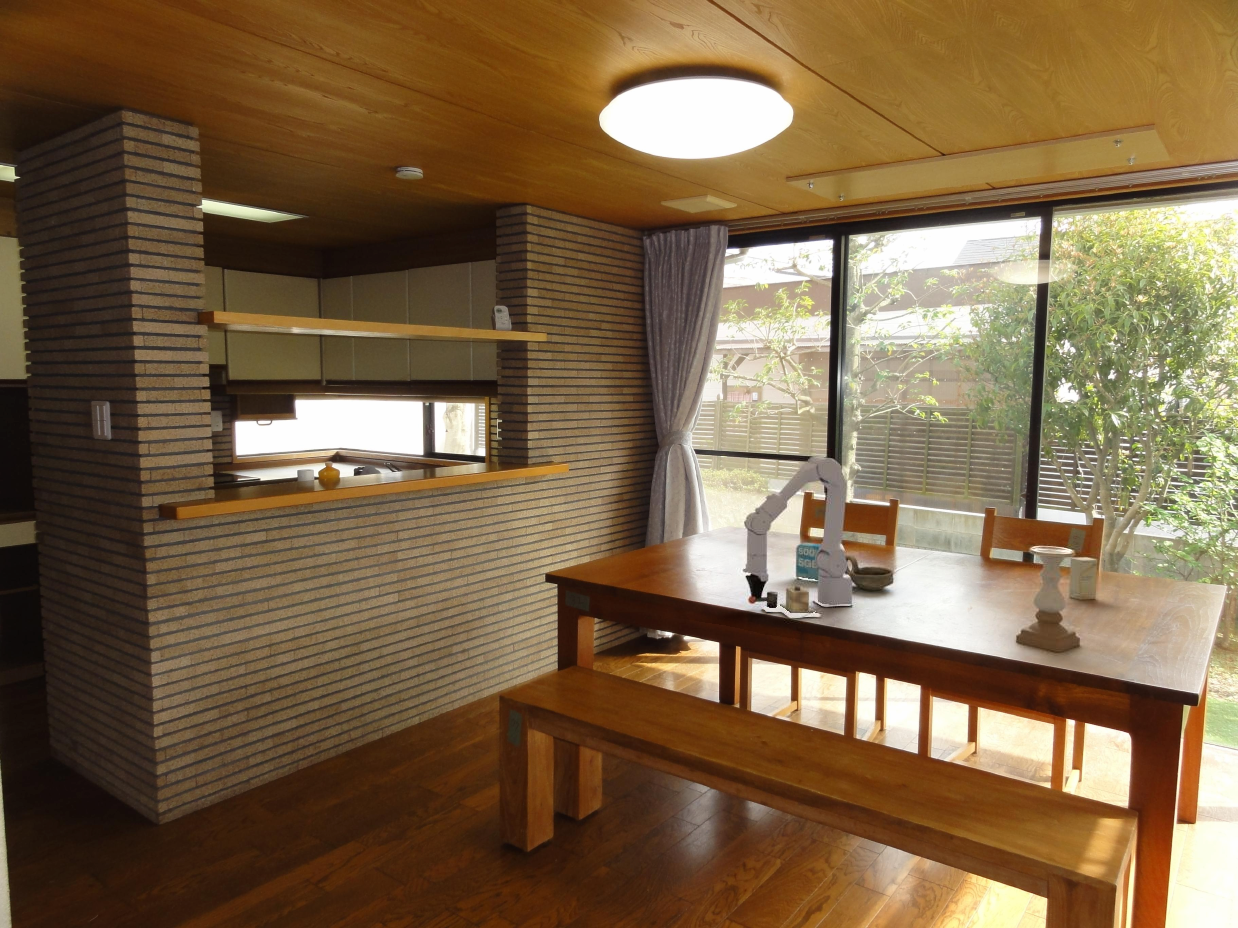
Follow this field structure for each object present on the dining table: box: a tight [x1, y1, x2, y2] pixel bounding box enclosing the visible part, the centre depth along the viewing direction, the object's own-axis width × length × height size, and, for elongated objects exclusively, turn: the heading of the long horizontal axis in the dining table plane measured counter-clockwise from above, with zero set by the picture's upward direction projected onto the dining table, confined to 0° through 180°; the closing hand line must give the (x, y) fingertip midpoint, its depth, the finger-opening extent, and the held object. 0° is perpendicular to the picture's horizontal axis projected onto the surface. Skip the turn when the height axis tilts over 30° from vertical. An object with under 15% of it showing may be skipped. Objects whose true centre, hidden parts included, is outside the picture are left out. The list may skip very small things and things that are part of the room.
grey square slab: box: [780, 603, 821, 614], centre depth 236 cm, size 13×12×2 cm
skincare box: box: [1068, 556, 1098, 601], centre depth 252 cm, size 6×4×12 cm
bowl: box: [844, 554, 895, 591], centre depth 265 cm, size 14×18×10 cm
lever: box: [747, 591, 778, 608], centre depth 237 cm, size 9×3×4 cm, turn 100°
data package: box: [795, 542, 821, 580], centre depth 275 cm, size 12×4×12 cm, turn 55°
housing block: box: [785, 585, 810, 610], centre depth 236 cm, size 5×6×6 cm
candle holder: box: [1015, 545, 1081, 654], centre depth 206 cm, size 11×11×24 cm
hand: (756, 600), depth 241 cm, fingers closed
